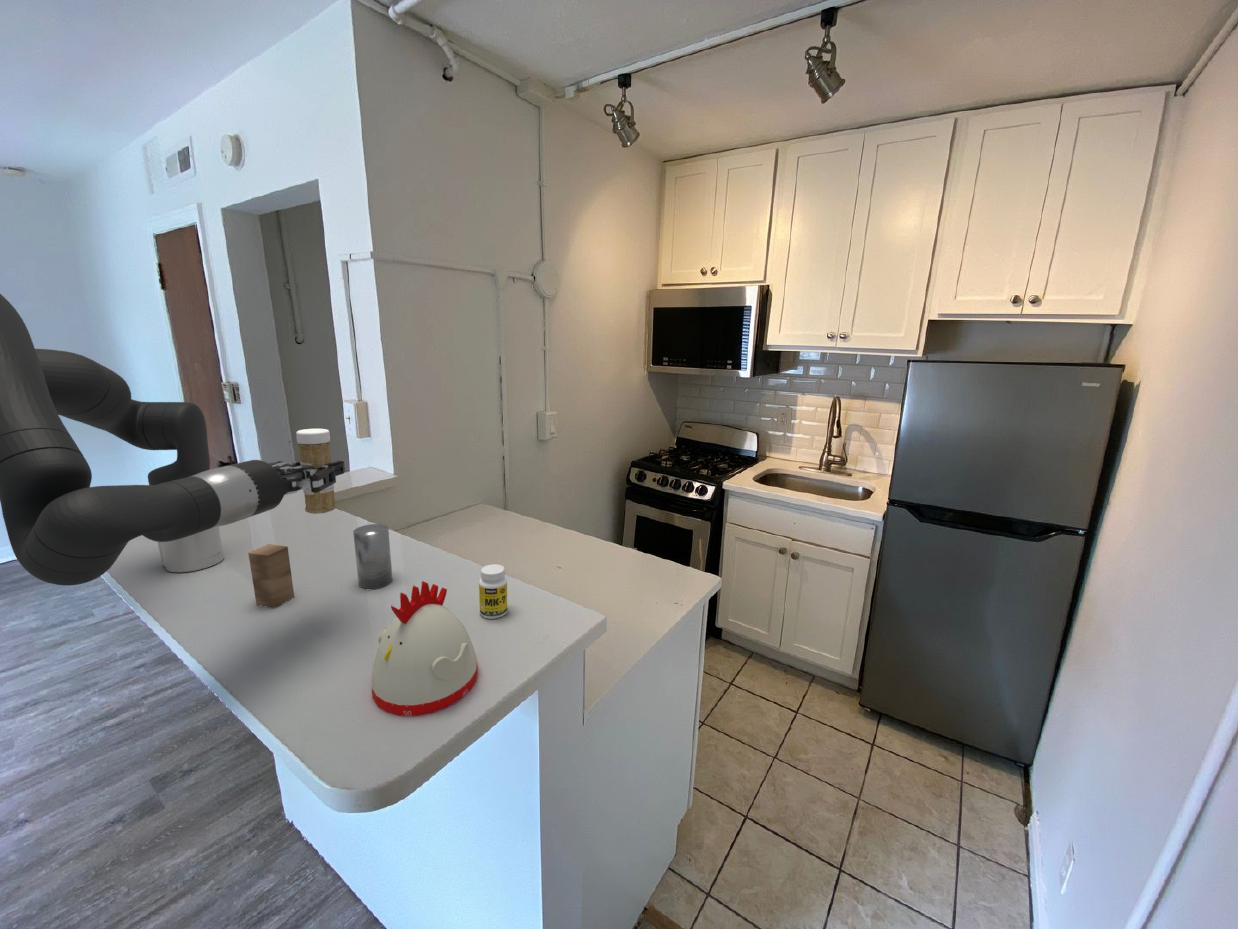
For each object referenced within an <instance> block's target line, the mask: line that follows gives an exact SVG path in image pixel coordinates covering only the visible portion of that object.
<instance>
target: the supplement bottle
mask: <svg viewBox="0 0 1238 929" xmlns="http://www.w3.org/2000/svg"><path fill="white" fill-rule="evenodd" d="M506 577H507V576H506V570H505V566H503V565H501V564H487V565H484V566H483V567H482V568H481V570H480V579H479V581H478V591H479V596H478V600H479V614H480V616H481V617H483V618H484V619H489V620H492V619H493V620H494V619H498V618H501V617H503V616H505V615H506V614H507V612H508V578H506Z"/></svg>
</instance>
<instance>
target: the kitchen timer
mask: <svg viewBox="0 0 1238 929" xmlns="http://www.w3.org/2000/svg"><path fill="white" fill-rule="evenodd" d="M438 592H439V593H438ZM447 594H448V589H447V588H445V587H441V589H440V591H439V585H437V584H434V583H433V584H432V585H431V588H430V586H429V583H428V582H426V581H424V580H423V581H422V582H421V587H420V590H419V587H418V586H416V585H413V586H412V588H411V598H410V599H409V597H408V596H407V594H406V593H404V592H400V593H399V599H400V600H399V602H400V607H399V608H397V607H395V606H393V605H390V609H391V611H392V612H393V613H394V615H395V617H394V619H393V620H392V621H391V622H390V624H389V625H388V627H386V628H384V629H383V630H382V632H381V633H380V635H379V637H378V647H377V650H376V654H375V657H374V659H373V660H374V661H373V665H372V672H371V693H372V699H373V701H374V702H375V704H376V706H377V707H378V708H379V709H381V710H383V711H384V712H385V713H389V714H392V715H396V716H400V717H401V716H404V717H405V715H406V717H408V716H410V717H411V716H412V717H416V716H422V715H426V714H432V713H435V711H436V712H438V711H440V710H443V709H446V708H449V707H450V706H452V705H454V704H456V703H457V702H459V701H460V700H461V698H462V699H463V698H464V697H465V696H466V695H467V694H468V693H469V692H470V691H471V690H472V689H473V687H474V685H475V684H474V683H476V682H477V678H478V671H479V670H478V659H477V654H476V651H475V649H474V645H473V643H472V639H471V638H470V634H469V632H468V630H467V628H466V627H465V625H464V624H463V622H462V620H460V619H459V617H457V615H456V614H455V613H454V612H453V611H452V610H450V609H449V608H448V607H446V606H444V602H445V600H446V596H447ZM466 693H467V694H466ZM465 694H466V695H465ZM464 695H465V696H464ZM463 696H464V697H463ZM458 700H459V701H458Z"/></svg>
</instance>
